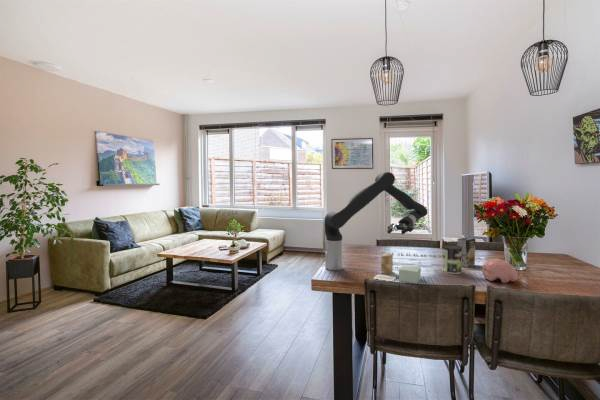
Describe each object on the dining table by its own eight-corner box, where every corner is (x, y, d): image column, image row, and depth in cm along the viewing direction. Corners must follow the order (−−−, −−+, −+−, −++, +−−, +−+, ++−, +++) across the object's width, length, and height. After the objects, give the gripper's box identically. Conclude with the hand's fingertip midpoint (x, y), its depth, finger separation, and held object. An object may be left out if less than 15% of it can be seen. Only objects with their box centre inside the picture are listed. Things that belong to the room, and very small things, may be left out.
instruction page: (373, 278, 170) (373, 278, 170) (377, 274, 177) (377, 274, 177) (392, 281, 165) (392, 281, 165) (396, 277, 171) (396, 276, 171)
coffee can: (465, 271, 180) (465, 247, 179) (455, 275, 174) (456, 249, 173) (447, 267, 188) (447, 244, 187) (437, 271, 182) (438, 246, 181)
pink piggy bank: (504, 285, 170) (515, 264, 168) (515, 293, 157) (527, 271, 156) (474, 272, 172) (485, 251, 171) (483, 279, 160) (494, 257, 158)
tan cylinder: (381, 272, 180) (381, 255, 179) (383, 270, 184) (383, 253, 184) (390, 274, 178) (390, 256, 177) (392, 271, 182) (392, 254, 181)
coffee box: (467, 267, 188) (467, 240, 187) (456, 265, 194) (457, 238, 192) (475, 265, 194) (475, 238, 192) (464, 262, 199) (465, 237, 198)
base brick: (398, 280, 166) (398, 269, 166) (403, 276, 174) (403, 265, 174) (417, 283, 162) (417, 271, 161) (420, 278, 169) (420, 267, 169)
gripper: (395, 216, 198) (382, 225, 187) (417, 216, 188) (405, 226, 177) (397, 227, 200) (385, 237, 189) (419, 228, 190) (408, 239, 179)
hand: (395, 232), depth 183 cm, fingers open, 8 cm apart
